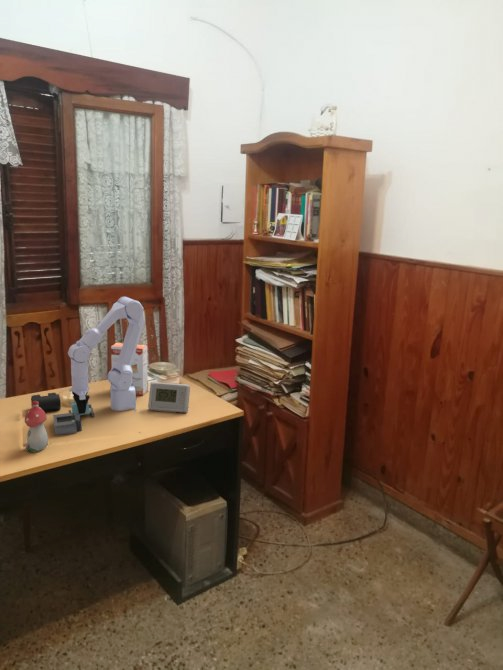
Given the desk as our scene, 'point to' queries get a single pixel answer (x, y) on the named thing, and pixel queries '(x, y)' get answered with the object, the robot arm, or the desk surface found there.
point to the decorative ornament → (36, 428)
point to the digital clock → (169, 397)
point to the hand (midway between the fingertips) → (81, 411)
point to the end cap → (48, 402)
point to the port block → (67, 423)
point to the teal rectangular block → (75, 408)
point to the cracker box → (135, 366)
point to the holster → (90, 411)
